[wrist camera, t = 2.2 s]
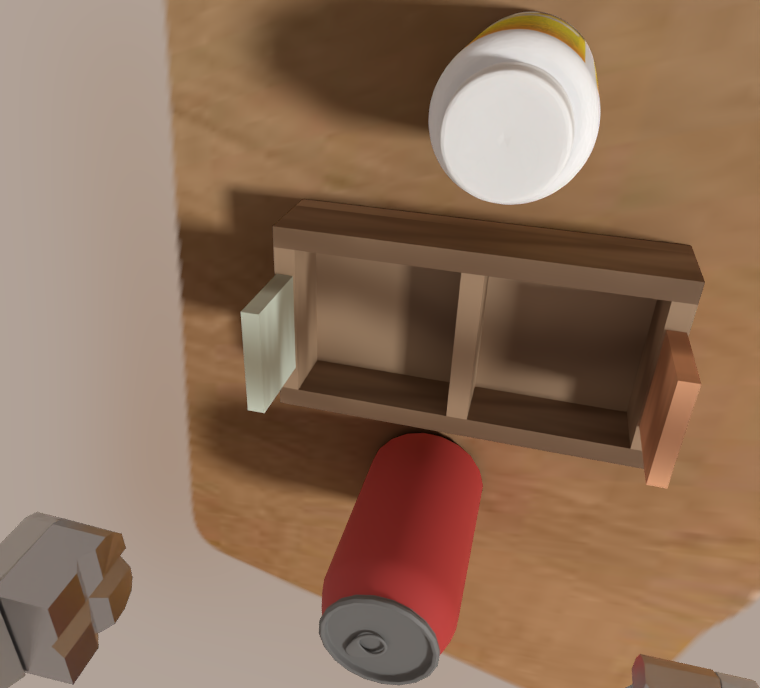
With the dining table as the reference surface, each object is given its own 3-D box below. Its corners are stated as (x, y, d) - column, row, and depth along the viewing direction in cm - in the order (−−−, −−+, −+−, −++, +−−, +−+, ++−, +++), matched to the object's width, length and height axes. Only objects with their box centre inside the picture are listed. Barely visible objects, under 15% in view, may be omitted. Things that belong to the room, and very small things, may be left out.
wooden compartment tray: (302, 199, 34) (234, 260, 27) (691, 245, 30) (722, 329, 24) (306, 363, 39) (249, 449, 32) (641, 420, 35) (656, 530, 29)
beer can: (352, 455, 41) (278, 618, 31) (437, 409, 38) (385, 573, 28) (419, 529, 43) (370, 706, 33) (506, 490, 40) (481, 673, 30)
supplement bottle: (440, 48, 29) (381, 89, 20) (569, -17, 27) (563, -1, 18) (490, 169, 31) (455, 253, 22) (614, 118, 29) (628, 190, 20)
